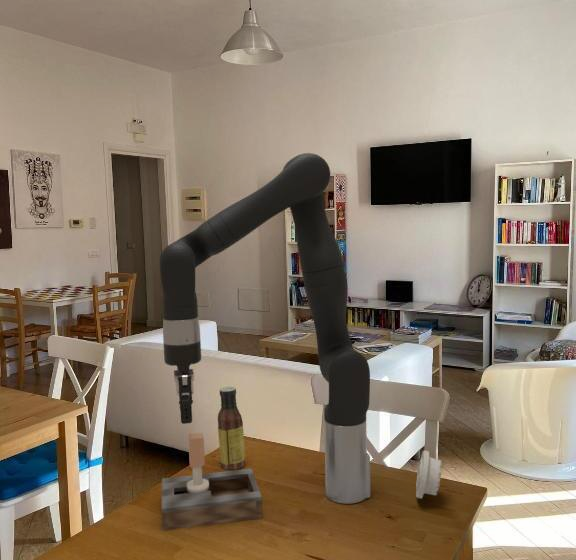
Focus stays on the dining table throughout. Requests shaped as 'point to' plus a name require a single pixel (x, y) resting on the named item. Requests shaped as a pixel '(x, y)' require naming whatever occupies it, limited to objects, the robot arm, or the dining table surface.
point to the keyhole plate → (216, 511)
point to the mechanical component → (428, 475)
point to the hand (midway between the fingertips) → (185, 416)
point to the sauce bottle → (230, 431)
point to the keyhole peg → (197, 464)
